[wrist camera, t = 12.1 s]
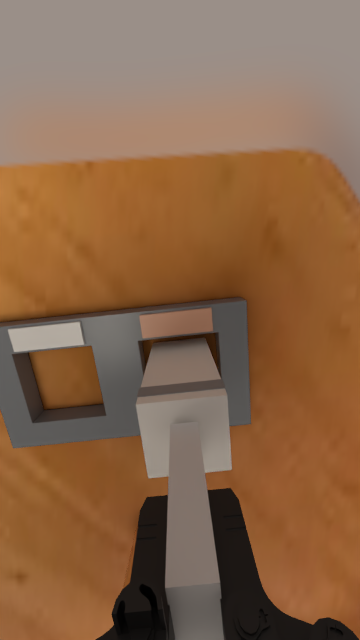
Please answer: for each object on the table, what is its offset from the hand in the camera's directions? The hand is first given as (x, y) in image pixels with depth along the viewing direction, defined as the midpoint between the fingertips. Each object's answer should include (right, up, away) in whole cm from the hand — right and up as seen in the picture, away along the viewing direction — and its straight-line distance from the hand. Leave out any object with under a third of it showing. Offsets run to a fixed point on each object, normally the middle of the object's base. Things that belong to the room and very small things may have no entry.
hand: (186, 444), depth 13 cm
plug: (0, +2, +10) cm, 11 cm away
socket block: (-6, +2, +10) cm, 12 cm away
